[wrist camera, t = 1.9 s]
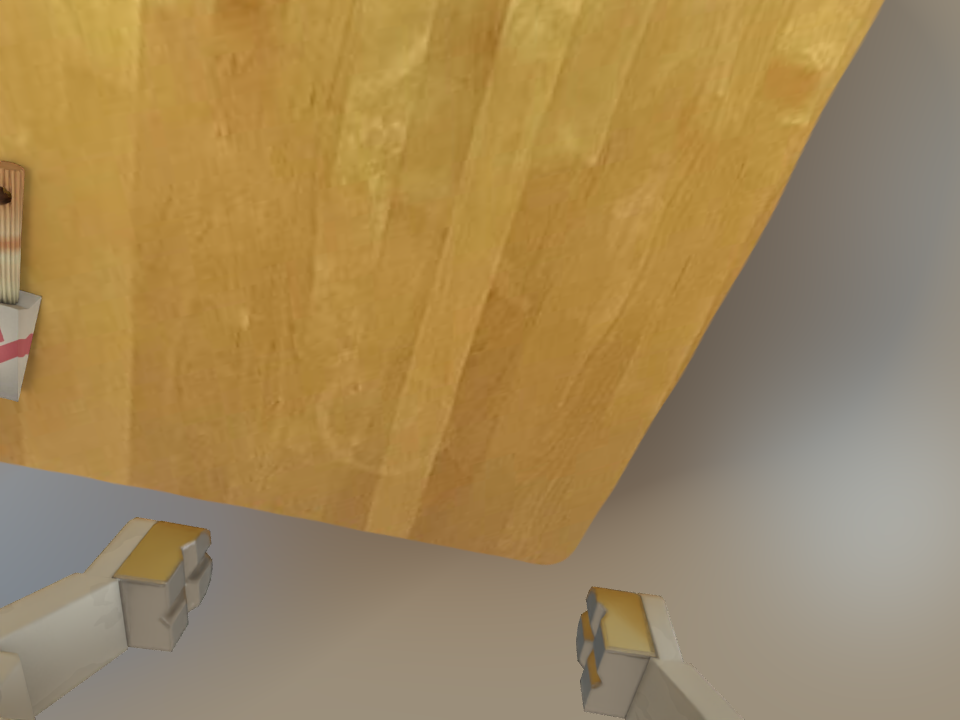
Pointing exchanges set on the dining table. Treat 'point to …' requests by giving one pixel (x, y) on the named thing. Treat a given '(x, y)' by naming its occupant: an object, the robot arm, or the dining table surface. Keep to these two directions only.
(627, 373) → the dining table surface
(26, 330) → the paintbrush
